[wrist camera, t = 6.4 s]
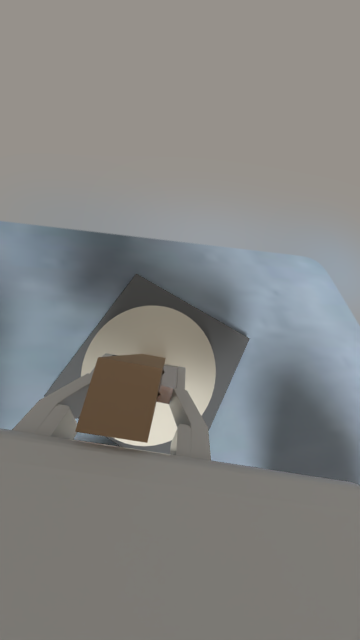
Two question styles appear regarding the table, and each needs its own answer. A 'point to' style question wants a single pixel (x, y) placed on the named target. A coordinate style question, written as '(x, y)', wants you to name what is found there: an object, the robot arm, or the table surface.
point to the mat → (220, 336)
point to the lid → (143, 374)
